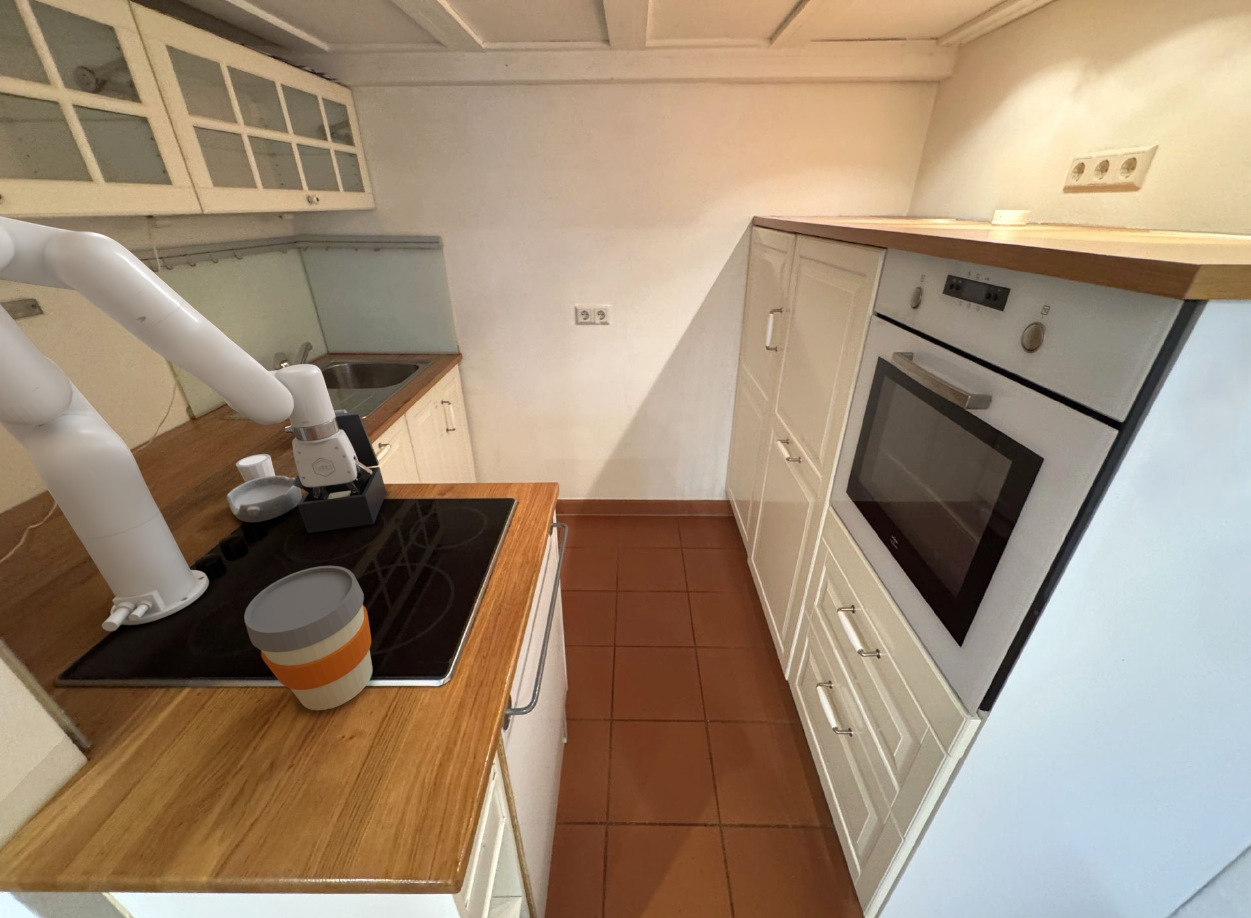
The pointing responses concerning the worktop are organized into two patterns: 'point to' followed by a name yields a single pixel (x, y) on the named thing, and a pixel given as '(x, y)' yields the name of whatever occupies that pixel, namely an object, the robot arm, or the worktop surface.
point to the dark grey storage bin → (344, 506)
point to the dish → (264, 498)
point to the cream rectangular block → (339, 494)
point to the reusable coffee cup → (314, 635)
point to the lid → (357, 436)
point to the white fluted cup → (255, 467)
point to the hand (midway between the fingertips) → (343, 507)
